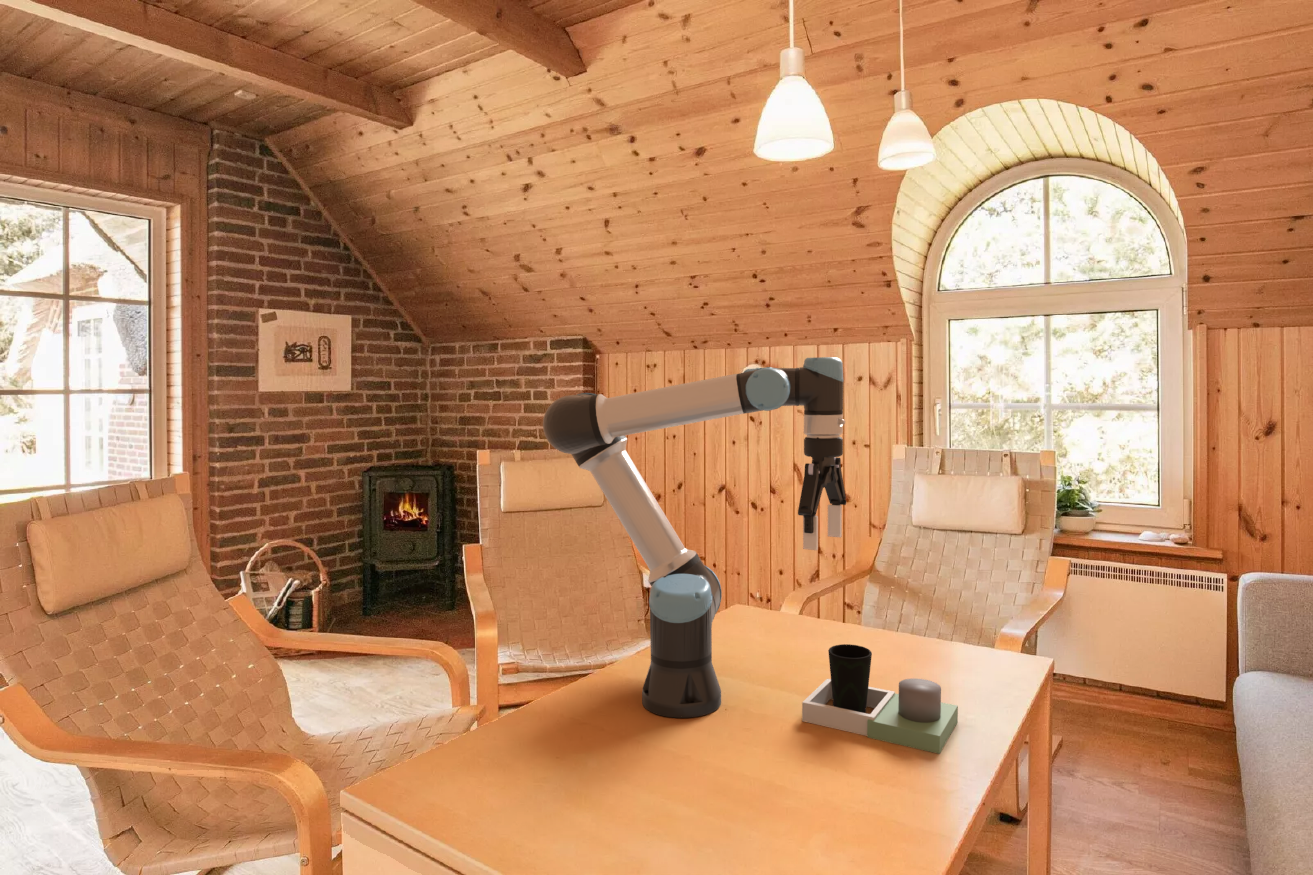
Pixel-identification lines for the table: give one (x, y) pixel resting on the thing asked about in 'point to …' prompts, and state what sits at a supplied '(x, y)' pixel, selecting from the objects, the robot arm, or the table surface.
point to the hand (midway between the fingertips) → (822, 543)
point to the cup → (850, 676)
